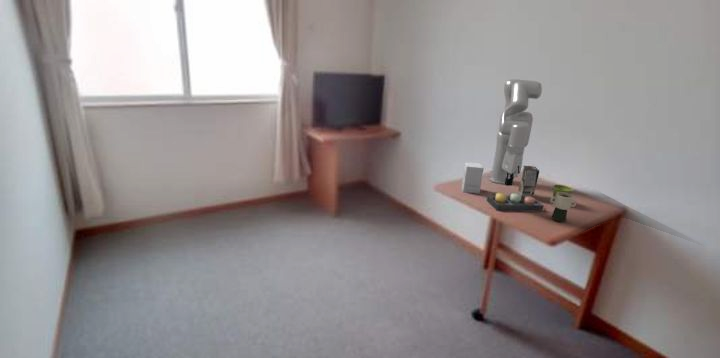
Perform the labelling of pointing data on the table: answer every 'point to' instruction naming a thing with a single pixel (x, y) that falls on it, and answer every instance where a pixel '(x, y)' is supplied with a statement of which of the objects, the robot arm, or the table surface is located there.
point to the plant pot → (561, 189)
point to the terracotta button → (529, 199)
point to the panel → (515, 205)
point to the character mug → (562, 205)
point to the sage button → (515, 198)
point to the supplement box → (472, 177)
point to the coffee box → (528, 181)
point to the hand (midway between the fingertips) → (508, 185)
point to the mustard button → (500, 198)
